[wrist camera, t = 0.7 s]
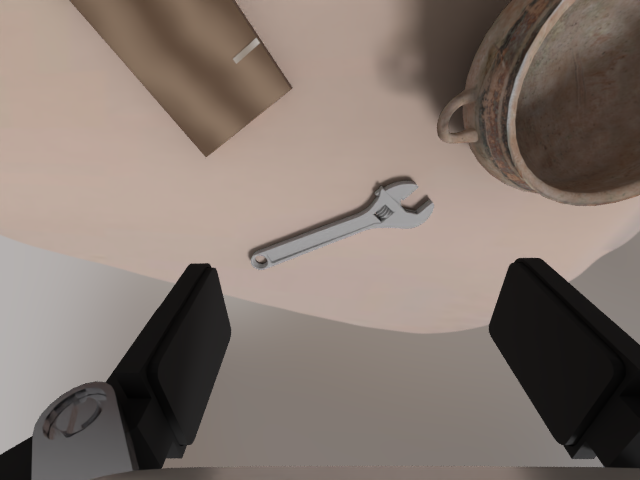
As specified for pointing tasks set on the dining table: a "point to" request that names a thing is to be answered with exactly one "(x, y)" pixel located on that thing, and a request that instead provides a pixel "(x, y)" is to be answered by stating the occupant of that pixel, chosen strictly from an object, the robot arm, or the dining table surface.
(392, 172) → the dining table surface
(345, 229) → the adjustable wrench
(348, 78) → the dining table surface
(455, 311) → the dining table surface
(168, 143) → the dining table surface
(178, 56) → the board
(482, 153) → the cooking pot
